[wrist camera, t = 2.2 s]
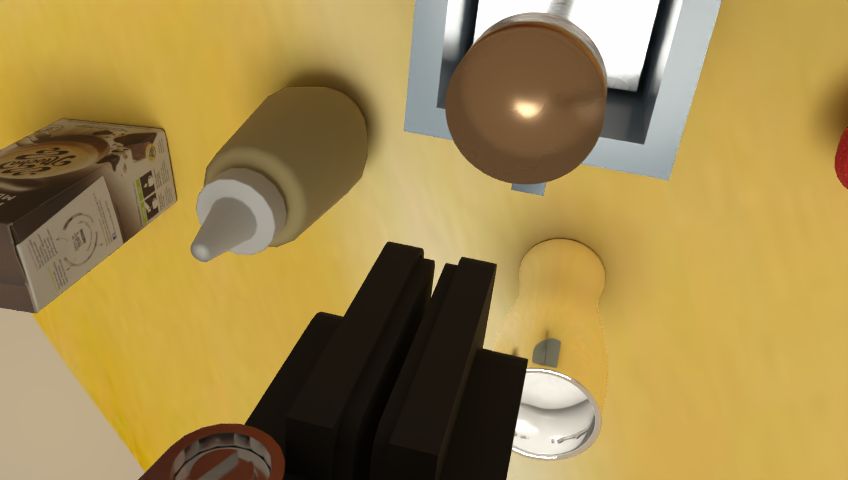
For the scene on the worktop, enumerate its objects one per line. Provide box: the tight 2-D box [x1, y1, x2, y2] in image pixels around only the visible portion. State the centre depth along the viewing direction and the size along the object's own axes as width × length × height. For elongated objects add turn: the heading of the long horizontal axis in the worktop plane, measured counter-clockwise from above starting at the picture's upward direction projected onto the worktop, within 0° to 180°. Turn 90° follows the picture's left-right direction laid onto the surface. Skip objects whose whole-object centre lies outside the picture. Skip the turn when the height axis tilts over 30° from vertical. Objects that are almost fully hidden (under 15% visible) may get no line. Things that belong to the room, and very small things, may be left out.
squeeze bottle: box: [191, 87, 367, 262], centre depth 44 cm, size 8×8×18 cm
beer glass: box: [491, 239, 608, 461], centre depth 47 cm, size 7×7×15 cm
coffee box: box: [0, 119, 176, 313], centre depth 51 cm, size 9×6×16 cm
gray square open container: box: [404, 0, 722, 196], centre depth 37 cm, size 12×15×15 cm
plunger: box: [445, 0, 659, 184], centre depth 28 cm, size 8×8×18 cm
